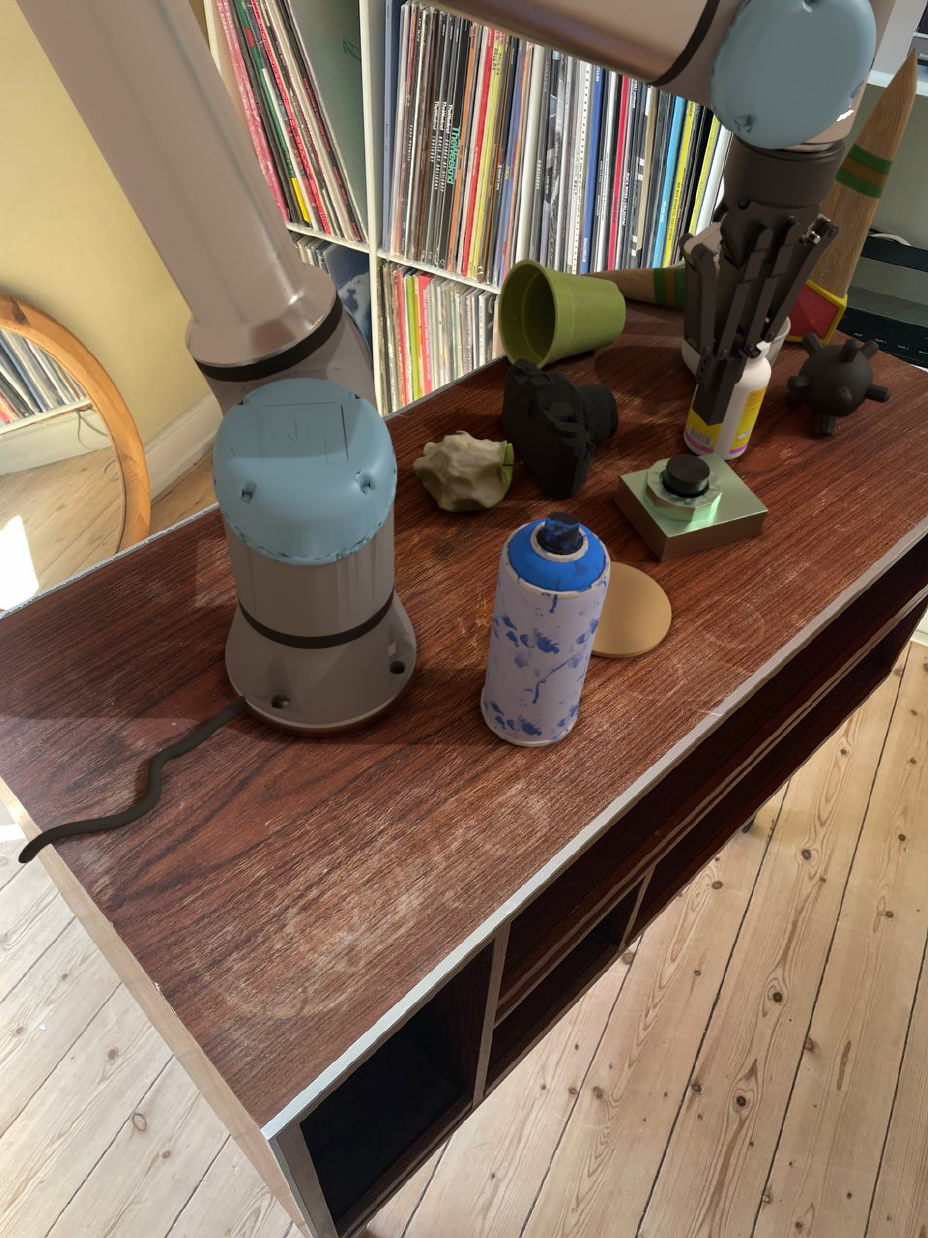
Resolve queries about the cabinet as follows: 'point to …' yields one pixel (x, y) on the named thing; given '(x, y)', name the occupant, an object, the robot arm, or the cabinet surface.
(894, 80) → the wooden v shape
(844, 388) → the toy ball
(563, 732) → the aerosol can
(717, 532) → the green knob plate
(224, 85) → the robot arm
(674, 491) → the button
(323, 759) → the cabinet surface
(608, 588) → the coaster
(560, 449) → the film camera
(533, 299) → the plant pot
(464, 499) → the fruit
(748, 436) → the supplement bottle
